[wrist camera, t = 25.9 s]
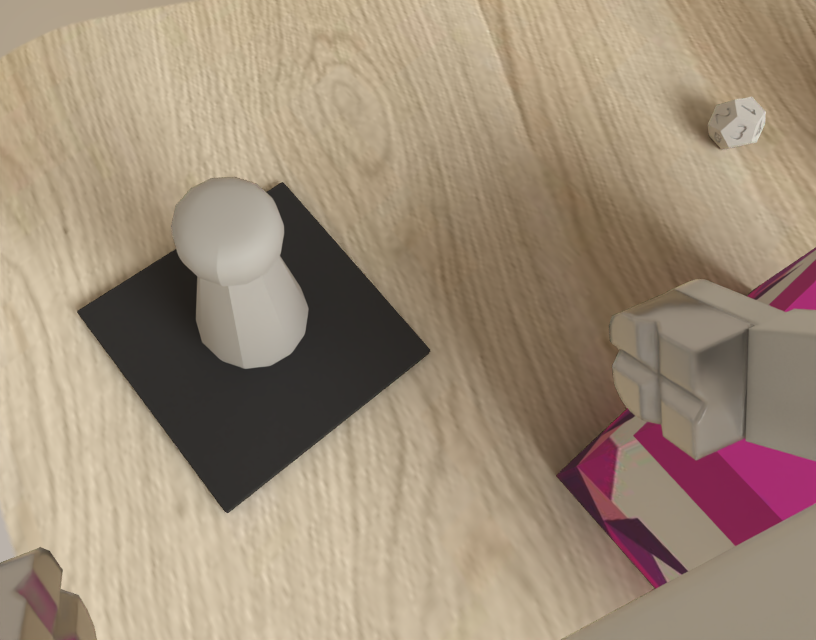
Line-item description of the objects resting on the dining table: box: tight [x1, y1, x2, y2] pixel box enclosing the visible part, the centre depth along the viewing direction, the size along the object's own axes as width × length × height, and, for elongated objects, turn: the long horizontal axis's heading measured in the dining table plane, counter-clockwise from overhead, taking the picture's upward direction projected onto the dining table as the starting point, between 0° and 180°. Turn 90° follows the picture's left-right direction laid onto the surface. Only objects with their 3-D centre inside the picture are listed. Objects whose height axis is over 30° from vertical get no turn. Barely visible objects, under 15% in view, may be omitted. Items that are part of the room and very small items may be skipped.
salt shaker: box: [171, 177, 309, 369], centre depth 31 cm, size 6×6×13 cm
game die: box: [708, 97, 766, 150], centre depth 46 cm, size 4×4×3 cm
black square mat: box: [77, 182, 430, 513], centre depth 38 cm, size 14×14×1 cm
